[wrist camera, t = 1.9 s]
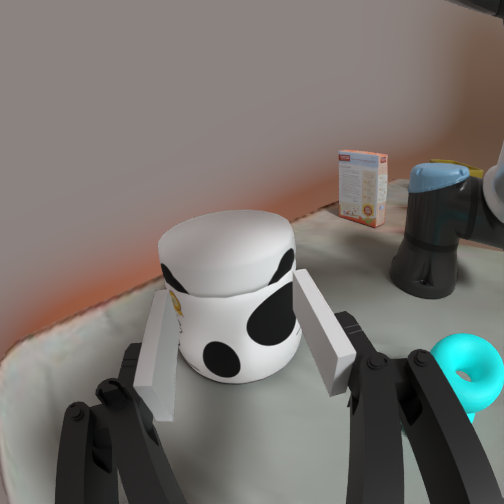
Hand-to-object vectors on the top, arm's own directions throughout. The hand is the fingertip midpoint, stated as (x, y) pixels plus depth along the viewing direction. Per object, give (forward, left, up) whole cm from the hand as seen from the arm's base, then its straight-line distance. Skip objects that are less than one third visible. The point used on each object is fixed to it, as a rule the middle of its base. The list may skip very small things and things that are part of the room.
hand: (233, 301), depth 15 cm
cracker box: (-41, -57, -20) cm, 73 cm away
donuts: (-21, +4, -20) cm, 29 cm away
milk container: (0, -16, -20) cm, 26 cm away
